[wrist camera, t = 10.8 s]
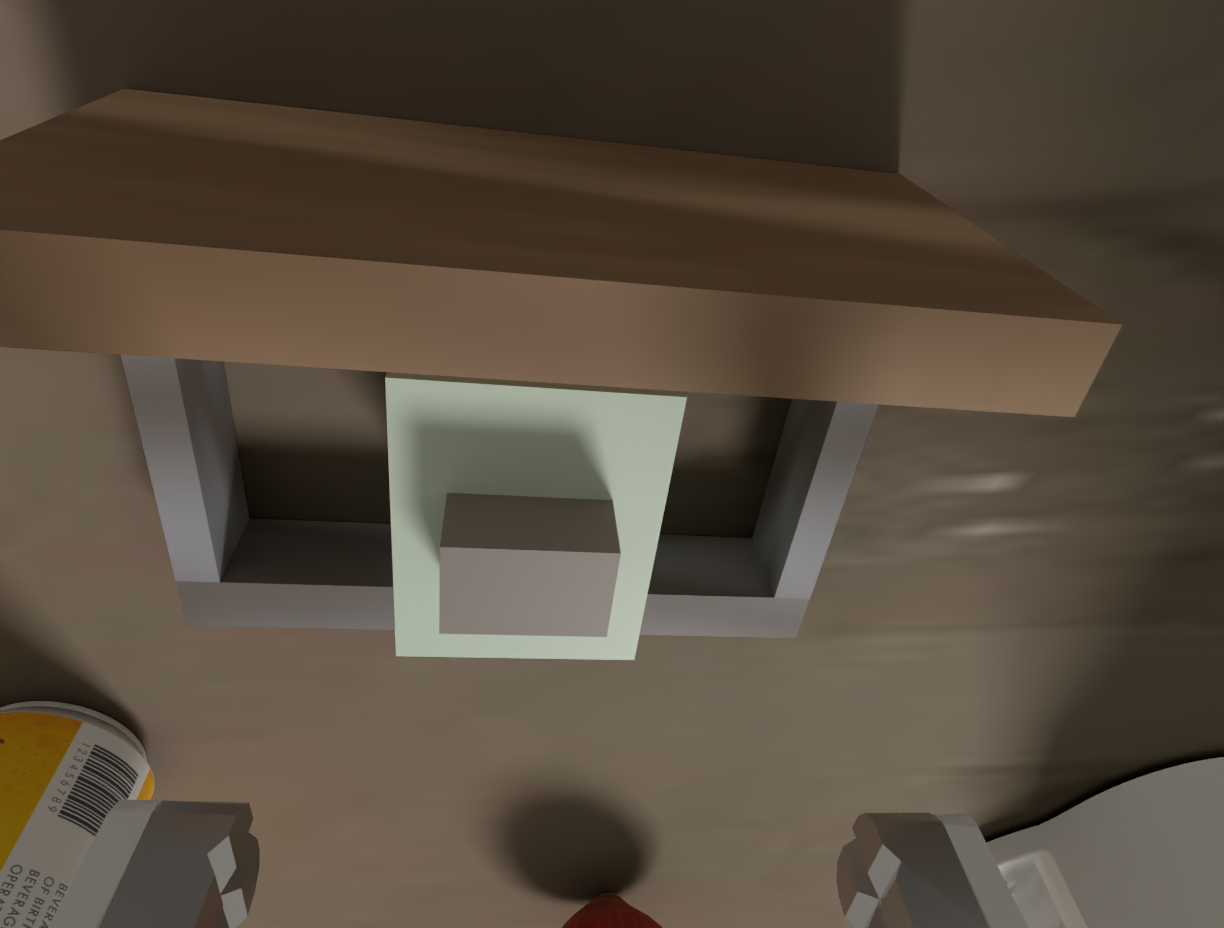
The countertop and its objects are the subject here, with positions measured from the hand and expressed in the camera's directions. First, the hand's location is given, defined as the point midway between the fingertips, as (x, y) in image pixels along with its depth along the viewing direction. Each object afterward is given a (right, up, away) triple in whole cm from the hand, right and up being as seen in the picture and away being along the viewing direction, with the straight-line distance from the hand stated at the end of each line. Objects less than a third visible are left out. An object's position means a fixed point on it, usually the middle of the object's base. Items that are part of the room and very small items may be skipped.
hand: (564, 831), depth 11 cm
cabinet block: (-1, +7, +9) cm, 12 cm away
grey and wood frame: (-2, +6, +9) cm, 11 cm away
